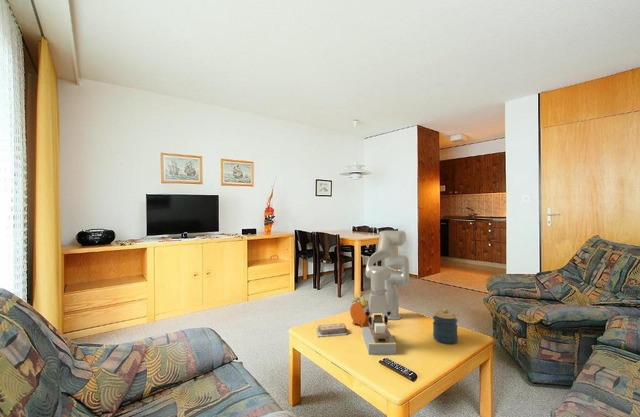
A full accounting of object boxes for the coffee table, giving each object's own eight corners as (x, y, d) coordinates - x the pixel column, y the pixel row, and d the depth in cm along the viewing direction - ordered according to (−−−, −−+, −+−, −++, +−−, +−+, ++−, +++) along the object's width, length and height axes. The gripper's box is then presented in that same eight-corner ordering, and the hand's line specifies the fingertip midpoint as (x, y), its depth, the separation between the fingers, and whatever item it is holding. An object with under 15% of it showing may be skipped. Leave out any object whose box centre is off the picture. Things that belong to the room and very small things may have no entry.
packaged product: (343, 321, 183) (347, 327, 173) (344, 328, 183) (347, 335, 174) (315, 323, 181) (317, 329, 171) (315, 331, 181) (317, 338, 171)
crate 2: (374, 330, 160) (374, 323, 160) (383, 330, 160) (383, 322, 160) (375, 333, 156) (375, 325, 156) (385, 333, 156) (385, 325, 156)
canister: (434, 332, 175) (434, 303, 175) (458, 337, 169) (458, 306, 169) (431, 341, 164) (430, 310, 164) (456, 346, 158) (456, 314, 158)
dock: (362, 335, 173) (362, 326, 173) (386, 335, 173) (386, 326, 173) (368, 354, 151) (368, 344, 151) (396, 354, 151) (396, 343, 151)
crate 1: (371, 324, 168) (371, 317, 168) (380, 324, 168) (380, 317, 168) (373, 327, 164) (373, 320, 164) (382, 327, 164) (382, 320, 164)
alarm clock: (372, 327, 184) (371, 295, 184) (365, 329, 181) (365, 297, 180) (356, 321, 195) (356, 290, 195) (350, 323, 191) (349, 292, 191)
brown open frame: (369, 327, 171) (368, 310, 171) (381, 327, 171) (380, 309, 171) (375, 342, 152) (375, 322, 152) (388, 342, 152) (388, 322, 152)
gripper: (391, 289, 165) (392, 320, 165) (361, 290, 165) (361, 321, 165) (395, 293, 158) (395, 326, 158) (363, 293, 158) (363, 326, 158)
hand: (378, 323), depth 162 cm, fingers open, 7 cm apart
